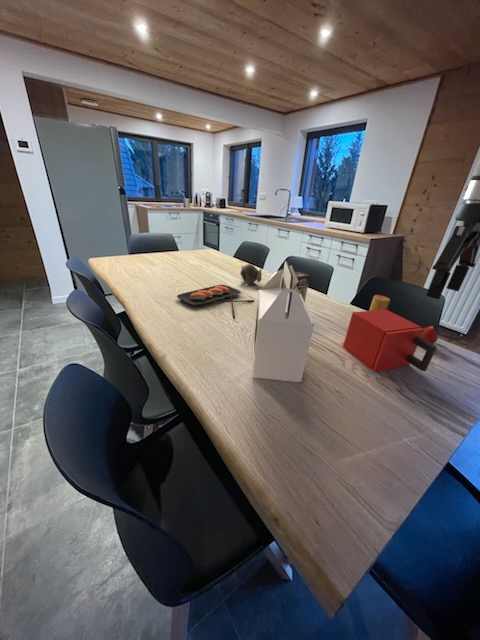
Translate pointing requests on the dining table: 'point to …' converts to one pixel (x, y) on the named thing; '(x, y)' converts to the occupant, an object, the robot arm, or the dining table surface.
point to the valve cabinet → (372, 333)
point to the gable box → (281, 329)
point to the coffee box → (302, 283)
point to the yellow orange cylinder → (379, 303)
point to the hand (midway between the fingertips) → (442, 293)
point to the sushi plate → (210, 295)
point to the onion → (430, 335)
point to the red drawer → (403, 350)
